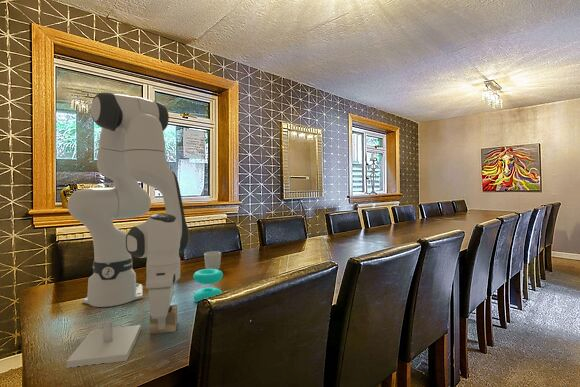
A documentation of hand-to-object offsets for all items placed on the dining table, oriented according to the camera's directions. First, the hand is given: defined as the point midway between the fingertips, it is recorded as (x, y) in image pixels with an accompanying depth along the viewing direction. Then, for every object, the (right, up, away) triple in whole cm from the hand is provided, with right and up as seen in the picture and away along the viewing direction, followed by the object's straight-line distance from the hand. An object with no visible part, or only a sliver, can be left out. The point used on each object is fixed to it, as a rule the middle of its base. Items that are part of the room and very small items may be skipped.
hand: (164, 322), depth 90 cm
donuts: (+7, -1, +22) cm, 23 cm away
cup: (-2, -1, +64) cm, 65 cm away
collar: (0, -2, 0) cm, 2 cm away
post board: (-10, -2, -11) cm, 15 cm away
